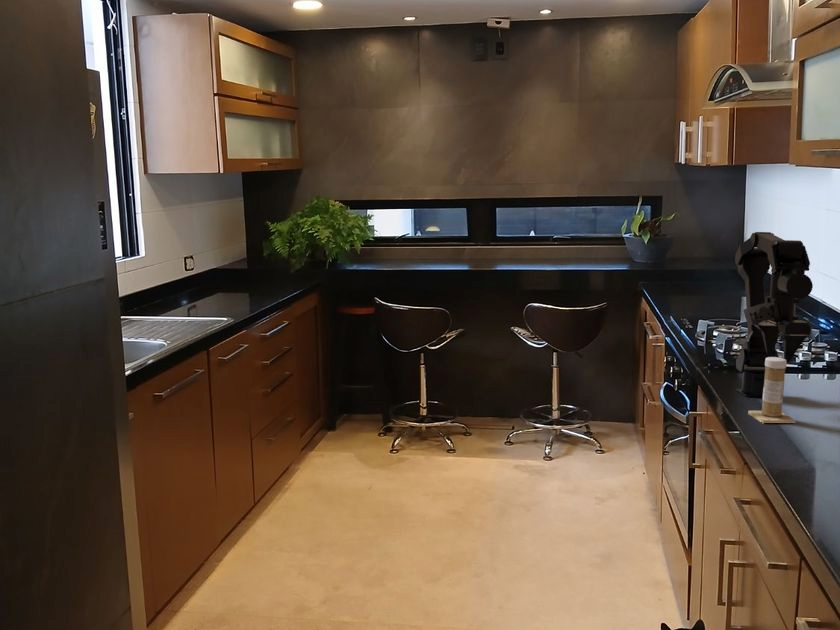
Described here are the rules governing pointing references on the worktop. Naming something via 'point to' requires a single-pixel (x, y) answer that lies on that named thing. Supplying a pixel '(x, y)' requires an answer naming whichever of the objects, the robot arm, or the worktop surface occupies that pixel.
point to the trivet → (771, 418)
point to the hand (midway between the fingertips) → (777, 358)
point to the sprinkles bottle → (773, 386)
